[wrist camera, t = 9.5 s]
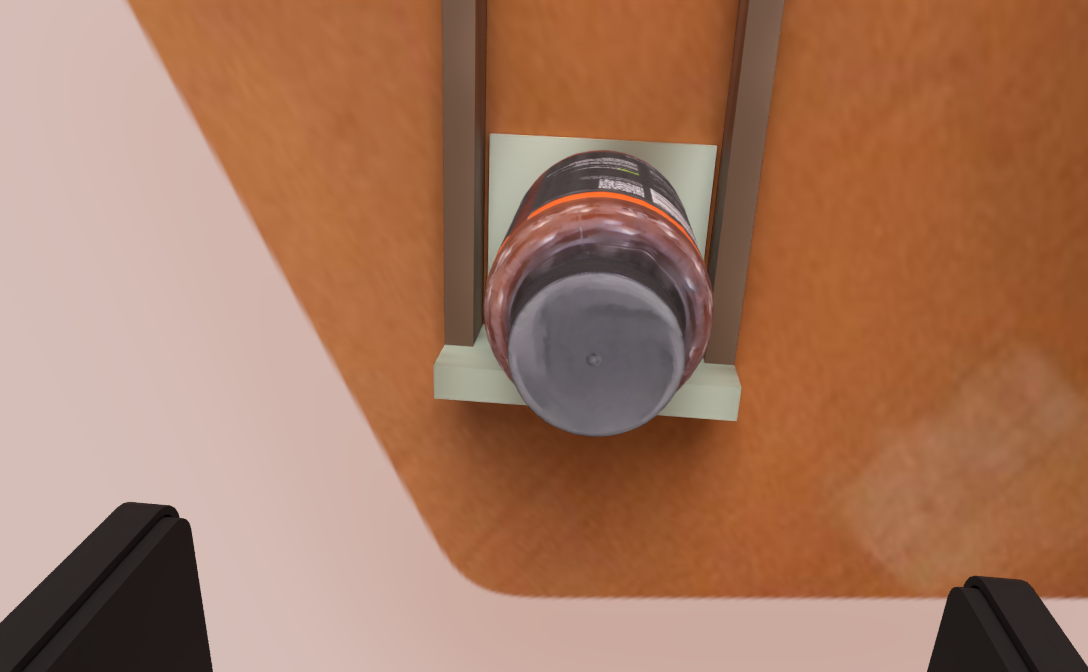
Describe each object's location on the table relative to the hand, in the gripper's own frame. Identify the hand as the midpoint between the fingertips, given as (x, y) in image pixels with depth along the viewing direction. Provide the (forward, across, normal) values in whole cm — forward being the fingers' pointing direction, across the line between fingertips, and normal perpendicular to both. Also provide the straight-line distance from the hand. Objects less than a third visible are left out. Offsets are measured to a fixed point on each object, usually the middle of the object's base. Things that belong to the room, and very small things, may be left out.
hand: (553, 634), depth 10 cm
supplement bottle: (+20, 0, 0) cm, 20 cm away
